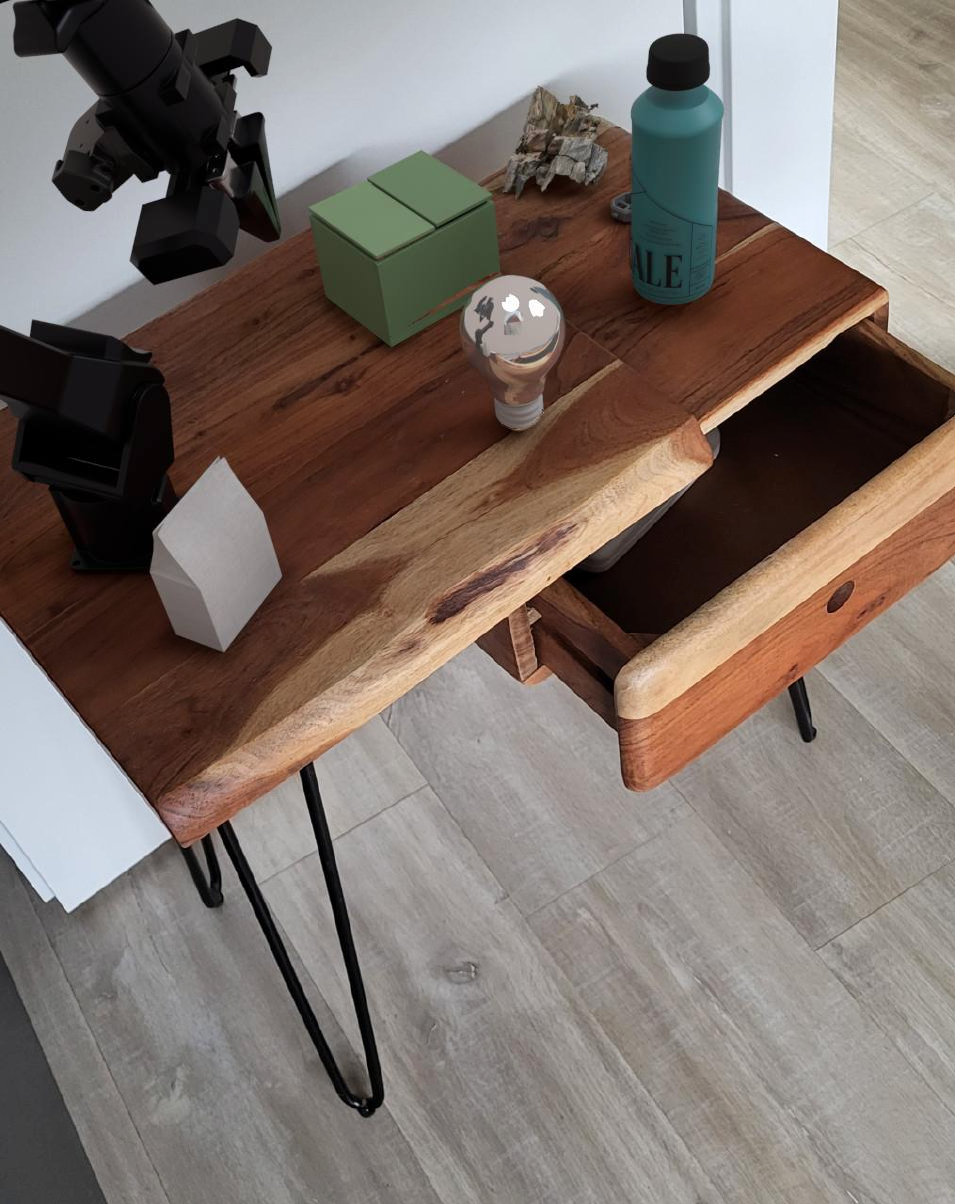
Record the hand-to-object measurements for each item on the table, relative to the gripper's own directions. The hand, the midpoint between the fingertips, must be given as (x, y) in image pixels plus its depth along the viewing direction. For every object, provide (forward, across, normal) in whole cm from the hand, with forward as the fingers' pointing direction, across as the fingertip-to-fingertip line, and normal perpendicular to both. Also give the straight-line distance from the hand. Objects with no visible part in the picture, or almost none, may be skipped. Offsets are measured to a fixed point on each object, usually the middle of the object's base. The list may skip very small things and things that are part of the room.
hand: (274, 237), depth 88 cm
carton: (+16, -7, +2) cm, 17 cm away
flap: (+7, -7, +3) cm, 11 cm away
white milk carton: (+6, +24, -4) cm, 25 cm away
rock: (+24, -25, +14) cm, 37 cm away
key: (+24, -21, +19) cm, 37 cm away
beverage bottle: (+22, -6, +21) cm, 31 cm away
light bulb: (+15, +8, +12) cm, 21 cm away
